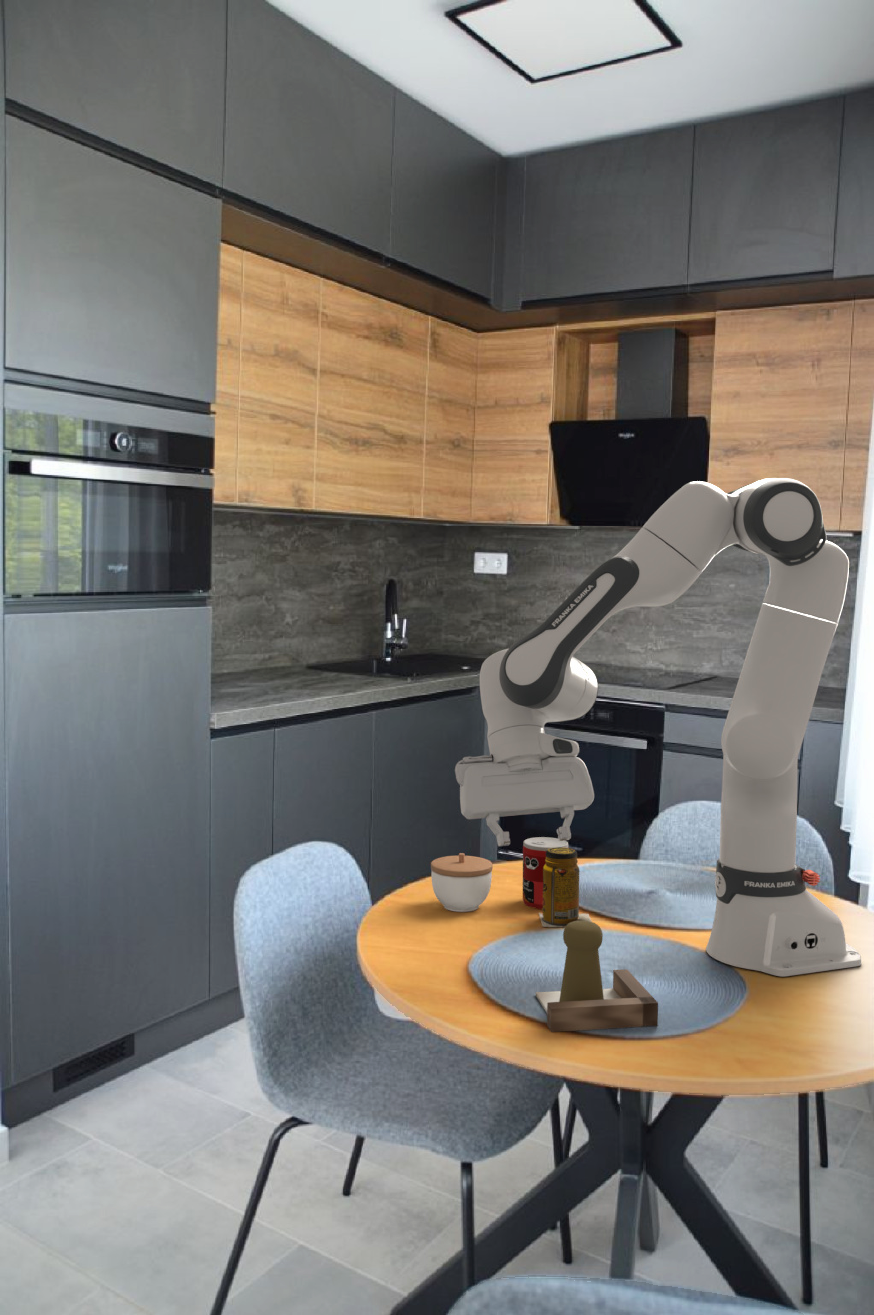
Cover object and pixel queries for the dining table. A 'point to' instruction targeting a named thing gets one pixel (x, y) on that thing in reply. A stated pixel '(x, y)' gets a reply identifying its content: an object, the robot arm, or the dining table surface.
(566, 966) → the olive game pawn
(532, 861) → the canned food
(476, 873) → the lidded jar
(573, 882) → the condiment
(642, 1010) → the corner lip
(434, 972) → the dining table surface
